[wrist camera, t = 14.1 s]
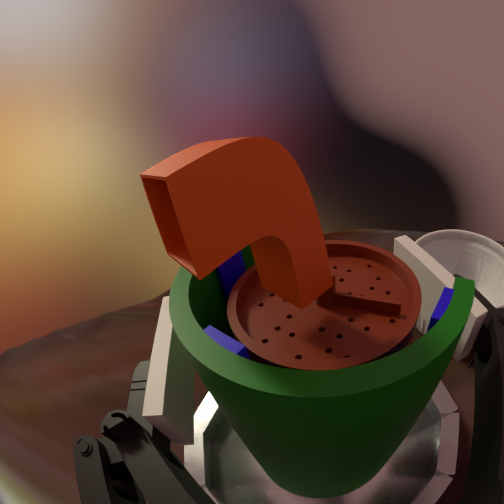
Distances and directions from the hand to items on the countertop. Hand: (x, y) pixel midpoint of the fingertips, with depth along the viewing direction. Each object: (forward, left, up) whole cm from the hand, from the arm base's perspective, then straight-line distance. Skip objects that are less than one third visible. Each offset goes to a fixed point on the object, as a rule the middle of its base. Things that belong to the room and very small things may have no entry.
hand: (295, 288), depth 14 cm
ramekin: (+18, +4, -13) cm, 23 cm away
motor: (0, -4, -12) cm, 13 cm away
